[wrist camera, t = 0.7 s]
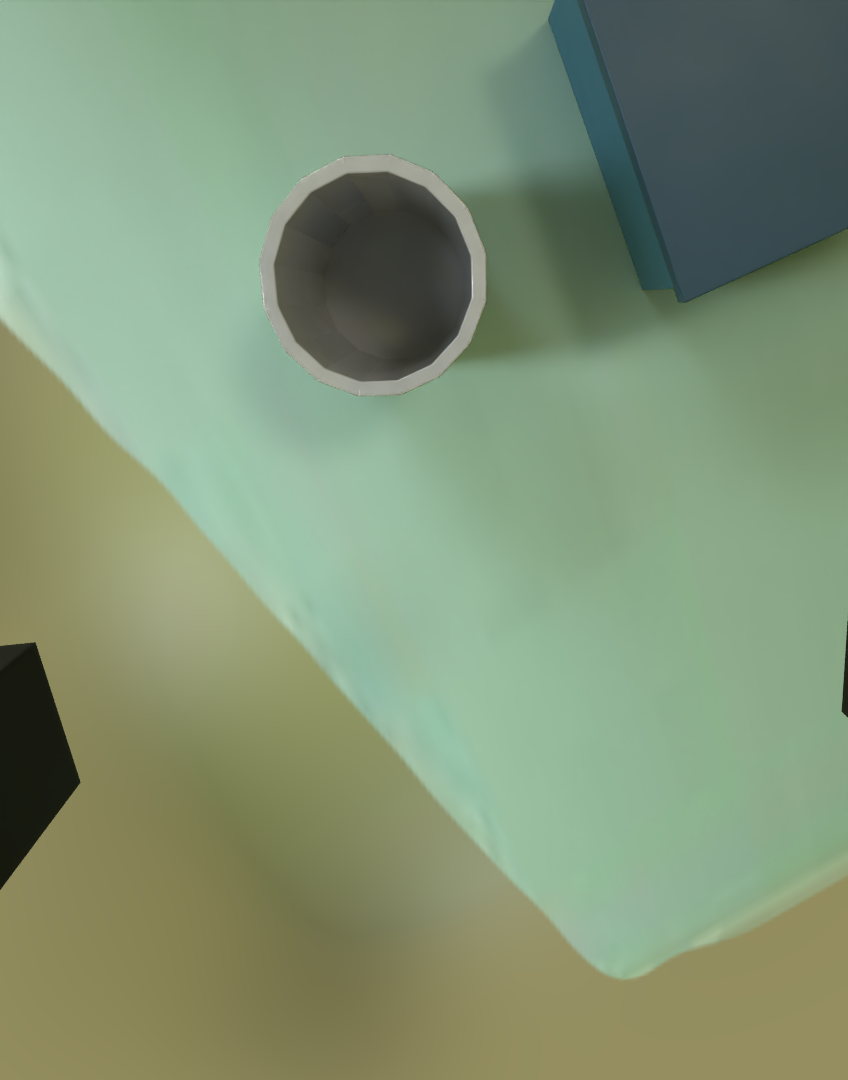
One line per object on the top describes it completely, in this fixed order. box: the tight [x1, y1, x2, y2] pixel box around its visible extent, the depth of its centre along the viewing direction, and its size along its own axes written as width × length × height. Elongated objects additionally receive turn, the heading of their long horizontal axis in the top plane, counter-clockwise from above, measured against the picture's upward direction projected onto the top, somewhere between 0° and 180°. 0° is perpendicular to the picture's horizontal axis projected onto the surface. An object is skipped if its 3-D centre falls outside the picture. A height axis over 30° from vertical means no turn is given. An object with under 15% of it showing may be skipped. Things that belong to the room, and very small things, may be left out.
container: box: [548, 0, 848, 302], centre depth 28 cm, size 13×12×7 cm
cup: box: [259, 154, 487, 396], centre depth 29 cm, size 7×7×11 cm
